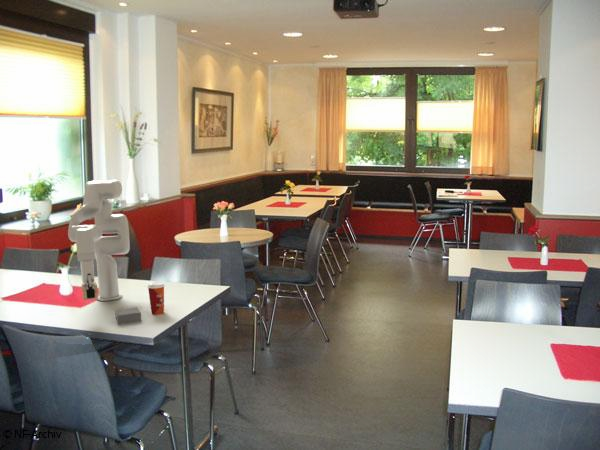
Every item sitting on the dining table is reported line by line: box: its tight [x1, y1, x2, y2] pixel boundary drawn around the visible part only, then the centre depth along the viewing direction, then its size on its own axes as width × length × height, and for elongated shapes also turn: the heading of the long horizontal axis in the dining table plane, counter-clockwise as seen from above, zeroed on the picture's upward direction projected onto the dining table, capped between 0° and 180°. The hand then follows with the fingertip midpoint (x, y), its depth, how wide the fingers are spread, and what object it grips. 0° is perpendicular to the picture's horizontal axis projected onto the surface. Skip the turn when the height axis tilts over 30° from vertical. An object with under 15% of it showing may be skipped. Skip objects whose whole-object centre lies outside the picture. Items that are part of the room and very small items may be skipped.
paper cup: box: [147, 281, 165, 316], centre depth 291 cm, size 8×8×14 cm
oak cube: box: [81, 281, 99, 301], centre depth 280 cm, size 6×6×6 cm
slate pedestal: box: [114, 306, 142, 325], centre depth 283 cm, size 10×10×4 cm
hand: (90, 295), depth 280 cm, fingers closed on oak cube, 6 cm apart
